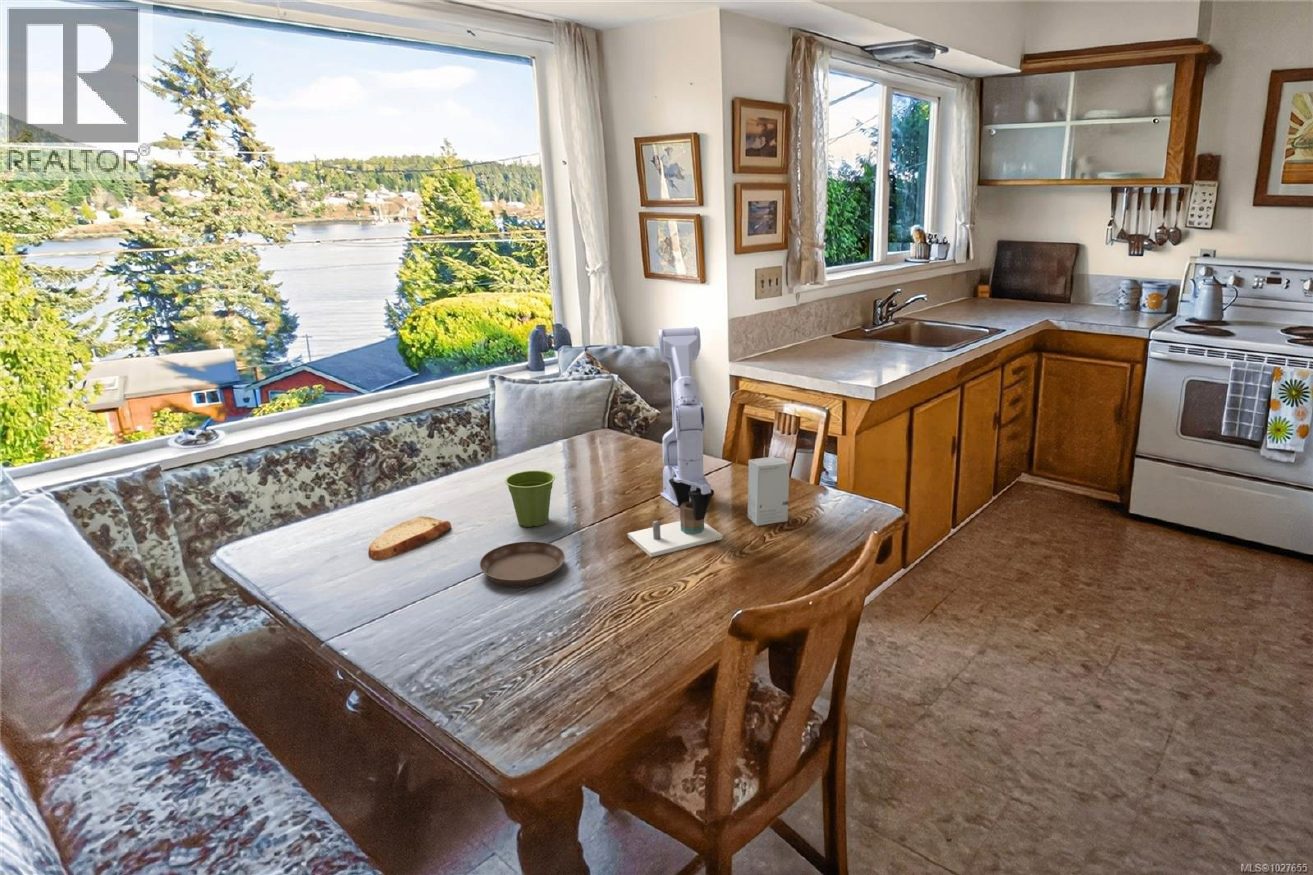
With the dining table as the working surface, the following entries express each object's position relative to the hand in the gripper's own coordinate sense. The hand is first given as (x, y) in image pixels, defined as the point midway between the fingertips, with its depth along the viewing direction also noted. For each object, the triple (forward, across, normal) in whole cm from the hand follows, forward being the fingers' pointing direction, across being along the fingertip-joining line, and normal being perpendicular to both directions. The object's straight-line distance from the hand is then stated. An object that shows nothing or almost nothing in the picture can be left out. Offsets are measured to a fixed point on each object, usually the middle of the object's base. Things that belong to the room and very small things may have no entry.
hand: (691, 513), depth 177 cm
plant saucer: (+6, -2, -40) cm, 40 cm away
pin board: (+5, 0, -4) cm, 7 cm away
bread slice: (+6, -30, -58) cm, 66 cm away
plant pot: (+5, -26, -30) cm, 40 cm away
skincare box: (+5, +2, +20) cm, 20 cm away
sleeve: (+4, 0, 0) cm, 4 cm away
